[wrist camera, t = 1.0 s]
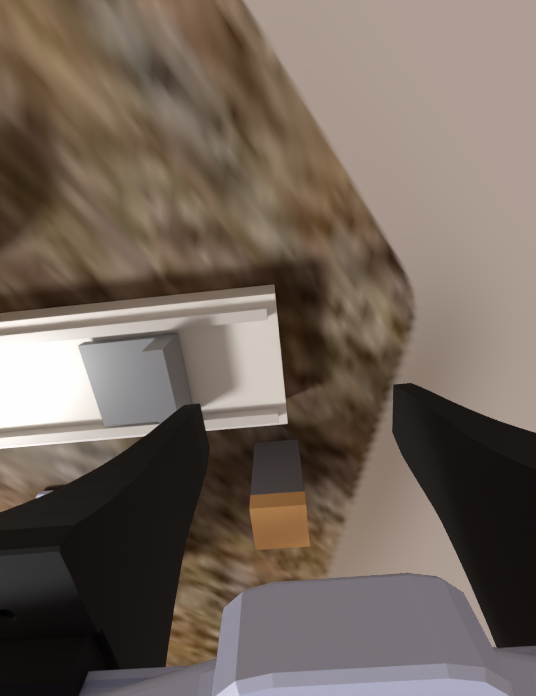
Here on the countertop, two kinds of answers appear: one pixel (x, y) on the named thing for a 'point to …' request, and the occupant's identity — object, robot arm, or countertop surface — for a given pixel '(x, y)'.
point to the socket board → (133, 321)
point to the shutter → (137, 378)
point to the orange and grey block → (278, 496)
